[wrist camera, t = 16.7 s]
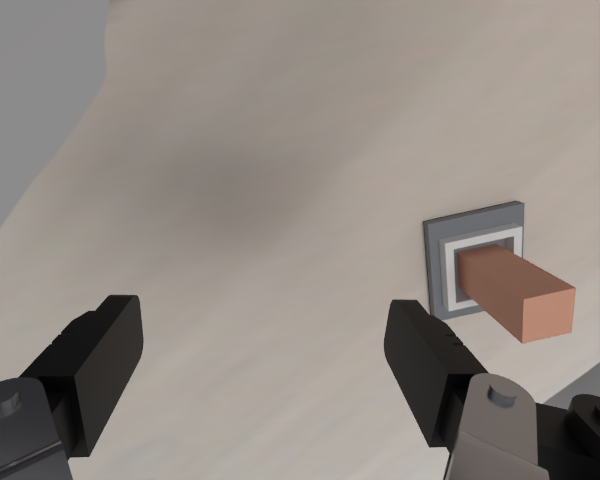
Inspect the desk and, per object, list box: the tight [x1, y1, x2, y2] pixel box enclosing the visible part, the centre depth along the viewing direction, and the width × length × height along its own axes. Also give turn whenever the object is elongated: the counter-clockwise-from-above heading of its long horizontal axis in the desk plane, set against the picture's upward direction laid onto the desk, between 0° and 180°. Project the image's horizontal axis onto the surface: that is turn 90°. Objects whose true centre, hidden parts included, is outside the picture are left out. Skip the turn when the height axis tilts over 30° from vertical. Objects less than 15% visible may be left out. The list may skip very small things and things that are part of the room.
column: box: [457, 244, 576, 343], centre depth 39 cm, size 5×5×12 cm
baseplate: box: [424, 201, 524, 320], centre depth 44 cm, size 14×12×3 cm
